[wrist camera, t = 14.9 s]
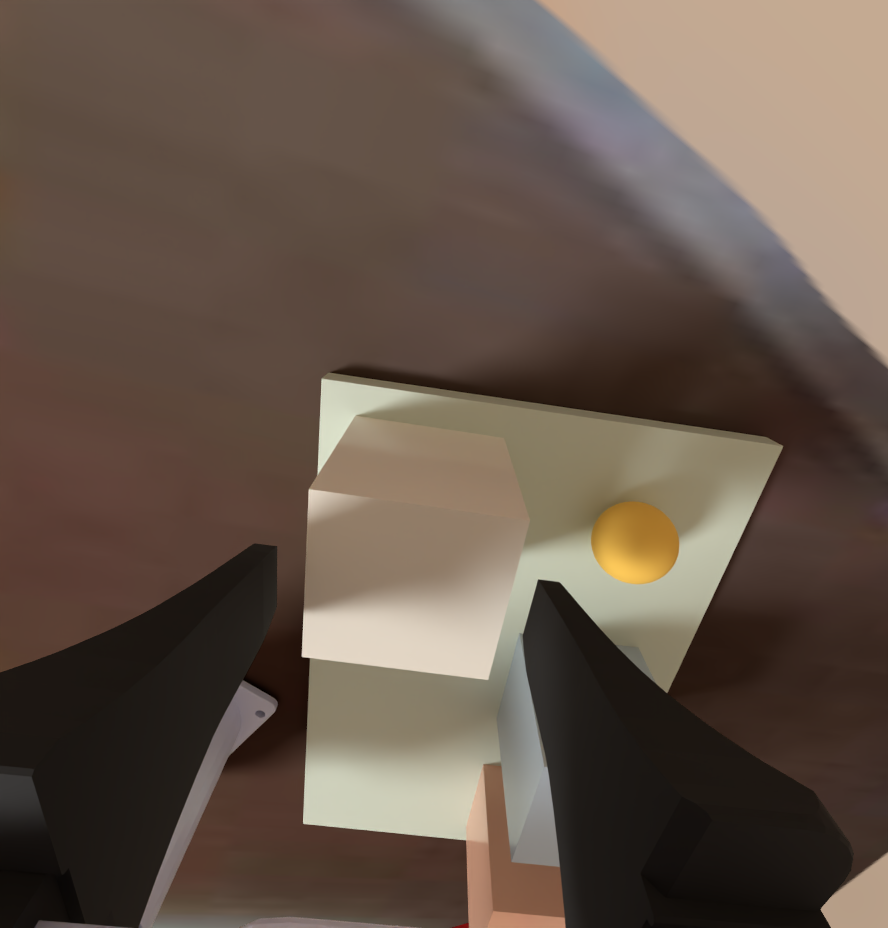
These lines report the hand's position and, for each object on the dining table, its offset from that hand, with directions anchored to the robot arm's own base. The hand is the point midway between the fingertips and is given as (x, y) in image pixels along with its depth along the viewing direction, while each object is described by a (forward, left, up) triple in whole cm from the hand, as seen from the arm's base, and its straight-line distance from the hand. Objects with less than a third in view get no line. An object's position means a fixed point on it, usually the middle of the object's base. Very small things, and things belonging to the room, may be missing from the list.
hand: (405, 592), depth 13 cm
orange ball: (+5, -7, -4) cm, 9 cm away
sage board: (-5, -9, -7) cm, 12 cm away
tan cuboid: (0, 0, -6) cm, 6 cm away
